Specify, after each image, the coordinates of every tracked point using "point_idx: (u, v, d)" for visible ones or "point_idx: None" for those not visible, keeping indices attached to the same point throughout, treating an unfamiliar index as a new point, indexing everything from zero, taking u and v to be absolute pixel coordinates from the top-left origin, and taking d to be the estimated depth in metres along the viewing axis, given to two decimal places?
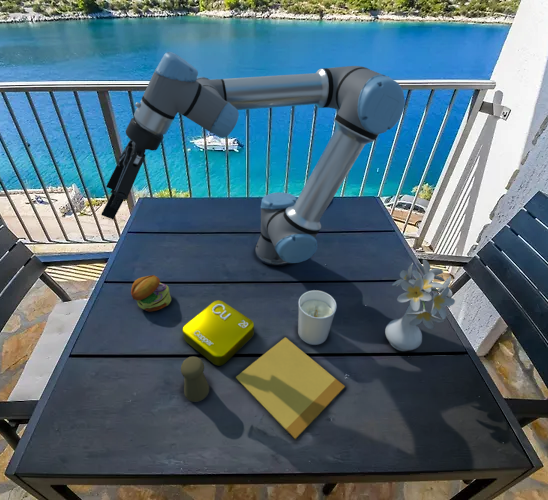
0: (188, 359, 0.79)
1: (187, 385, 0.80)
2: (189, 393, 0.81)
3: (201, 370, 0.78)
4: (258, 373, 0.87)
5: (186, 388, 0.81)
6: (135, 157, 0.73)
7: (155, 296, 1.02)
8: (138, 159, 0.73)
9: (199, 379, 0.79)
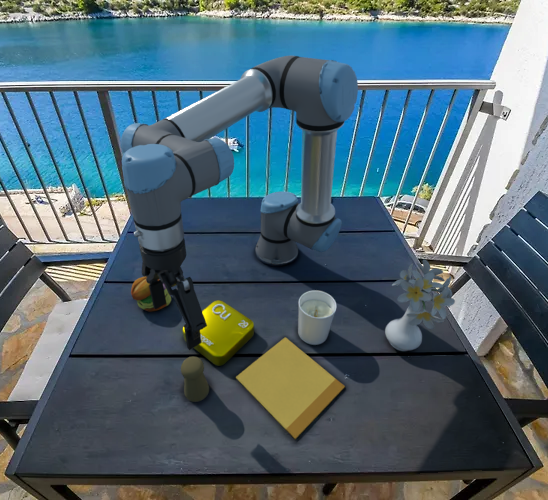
0: (188, 359, 0.79)
1: (187, 385, 0.80)
2: (189, 393, 0.81)
3: (201, 370, 0.78)
4: (258, 373, 0.87)
5: (186, 388, 0.81)
6: (183, 285, 0.57)
7: None
8: (187, 284, 0.58)
9: (199, 379, 0.79)
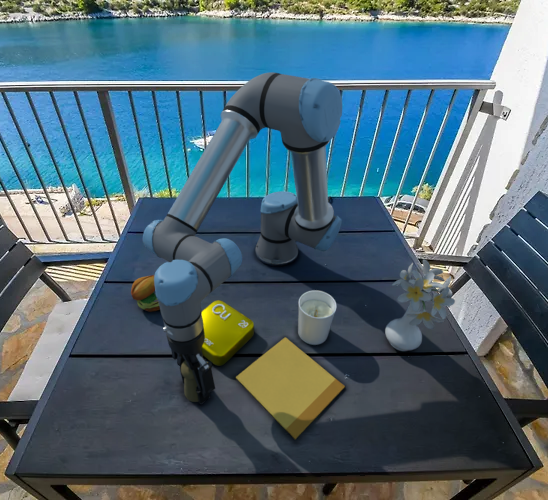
0: None
1: (187, 385, 0.80)
2: (189, 393, 0.81)
3: None
4: (258, 373, 0.87)
5: (186, 388, 0.81)
6: (205, 370, 0.70)
7: (155, 296, 1.02)
8: (207, 368, 0.70)
9: None
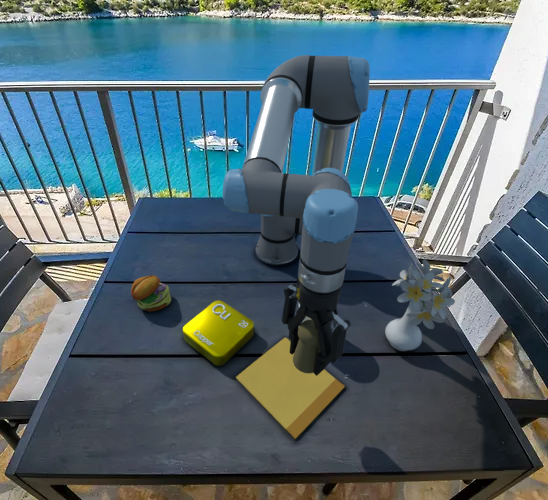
0: (306, 322, 0.67)
1: (304, 353, 0.68)
2: (304, 363, 0.69)
3: None
4: (258, 373, 0.87)
5: (300, 357, 0.69)
6: (344, 330, 0.58)
7: (155, 296, 1.02)
8: (346, 328, 0.59)
9: (319, 346, 0.67)
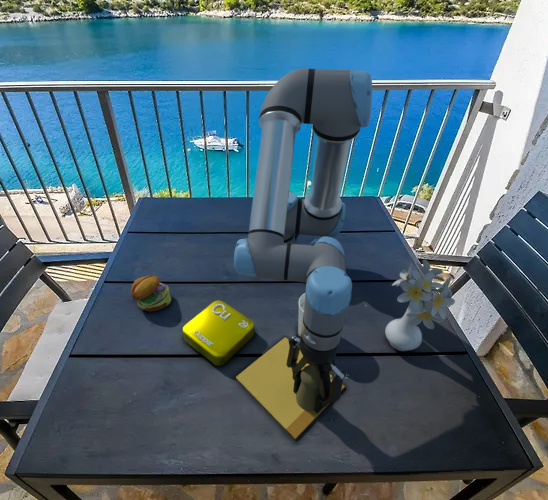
0: (308, 367, 0.76)
1: (306, 394, 0.77)
2: (306, 403, 0.79)
3: None
4: (258, 373, 0.87)
5: (303, 397, 0.79)
6: (341, 380, 0.68)
7: (155, 296, 1.02)
8: None
9: (319, 388, 0.77)
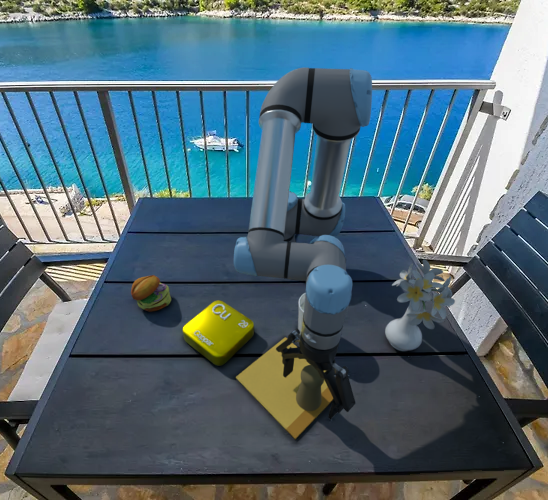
0: (308, 367, 0.76)
1: (306, 394, 0.77)
2: (306, 402, 0.79)
3: (323, 379, 0.75)
4: (258, 373, 0.87)
5: (303, 397, 0.79)
6: (342, 375, 0.67)
7: (155, 296, 1.02)
8: (345, 373, 0.67)
9: (319, 388, 0.77)
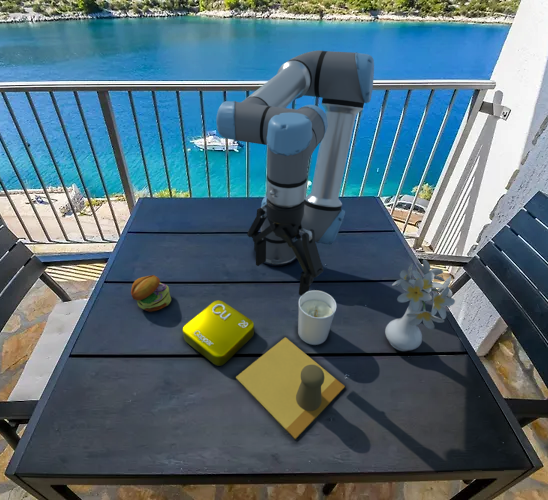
0: (308, 367, 0.76)
1: (306, 394, 0.77)
2: (306, 402, 0.79)
3: (323, 379, 0.75)
4: (258, 373, 0.87)
5: (303, 397, 0.79)
6: (308, 236, 0.67)
7: (155, 296, 1.02)
8: (311, 235, 0.67)
9: (319, 388, 0.77)
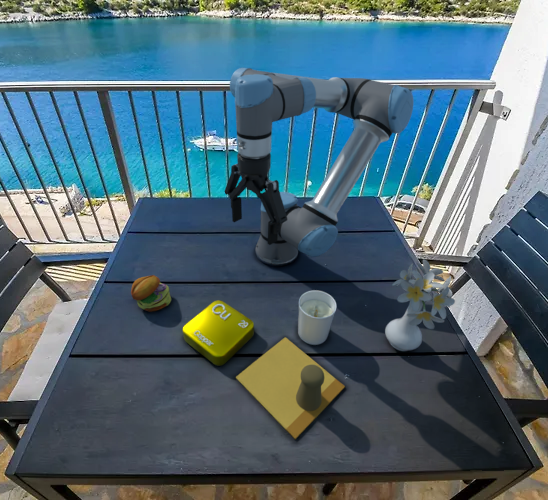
0: (308, 367, 0.76)
1: (306, 394, 0.77)
2: (306, 402, 0.79)
3: (323, 379, 0.75)
4: (258, 373, 0.87)
5: (303, 397, 0.79)
6: (272, 185, 0.77)
7: (155, 296, 1.02)
8: (275, 184, 0.77)
9: (319, 388, 0.77)
